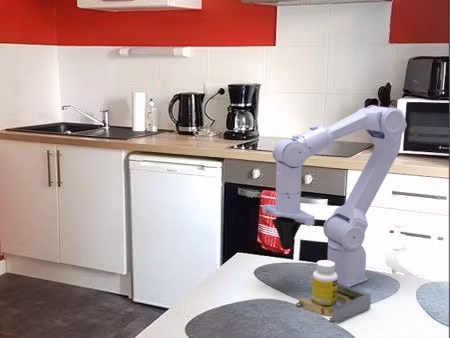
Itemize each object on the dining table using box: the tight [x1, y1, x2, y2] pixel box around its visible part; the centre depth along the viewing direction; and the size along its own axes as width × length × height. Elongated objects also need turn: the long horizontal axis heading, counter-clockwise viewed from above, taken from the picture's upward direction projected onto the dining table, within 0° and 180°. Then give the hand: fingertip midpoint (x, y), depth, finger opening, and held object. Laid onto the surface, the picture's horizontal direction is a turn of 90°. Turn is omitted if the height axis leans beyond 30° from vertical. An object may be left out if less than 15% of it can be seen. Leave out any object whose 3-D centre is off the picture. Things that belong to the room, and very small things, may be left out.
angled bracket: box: [295, 283, 372, 324], centre depth 126 cm, size 12×12×3 cm
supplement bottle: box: [311, 259, 338, 307], centre depth 126 cm, size 5×5×10 cm
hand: (286, 248), depth 134 cm, fingers closed
